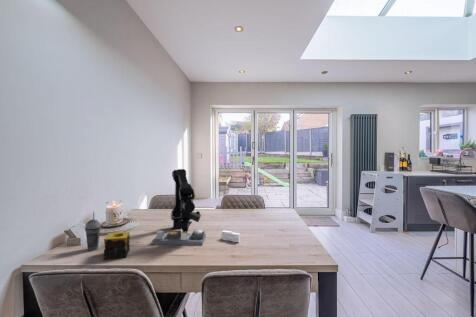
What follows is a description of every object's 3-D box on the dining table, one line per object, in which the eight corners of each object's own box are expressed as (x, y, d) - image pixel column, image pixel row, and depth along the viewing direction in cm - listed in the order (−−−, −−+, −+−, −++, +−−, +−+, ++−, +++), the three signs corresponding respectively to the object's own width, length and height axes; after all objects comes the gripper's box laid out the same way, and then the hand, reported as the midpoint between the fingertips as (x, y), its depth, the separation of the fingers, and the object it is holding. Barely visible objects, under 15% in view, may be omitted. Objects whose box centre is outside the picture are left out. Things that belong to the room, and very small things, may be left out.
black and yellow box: (103, 260, 116) (103, 239, 115) (108, 251, 125) (108, 232, 125) (126, 258, 118) (126, 237, 118) (129, 250, 128) (129, 231, 128)
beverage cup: (97, 245, 133) (97, 209, 133) (103, 249, 129) (103, 211, 128) (82, 249, 128) (82, 211, 127) (88, 253, 123) (87, 213, 123)
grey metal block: (158, 237, 141) (158, 230, 140) (163, 237, 141) (163, 230, 140) (156, 239, 138) (156, 232, 137) (161, 239, 138) (161, 232, 137)
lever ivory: (182, 238, 140) (182, 231, 140) (187, 238, 140) (187, 231, 140) (181, 240, 137) (181, 233, 137) (186, 240, 137) (186, 233, 137)
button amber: (171, 234, 145) (171, 231, 145) (179, 234, 145) (179, 231, 145) (168, 237, 140) (168, 234, 140) (177, 237, 140) (177, 234, 140)
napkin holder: (216, 239, 147) (216, 229, 147) (233, 236, 152) (233, 227, 152) (227, 248, 134) (227, 237, 134) (245, 244, 139) (245, 234, 139)
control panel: (160, 236, 150) (160, 228, 150) (205, 237, 149) (205, 229, 149) (152, 244, 137) (152, 236, 137) (202, 245, 136) (202, 237, 136)
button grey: (194, 232, 145) (194, 229, 145) (203, 233, 145) (203, 229, 145) (192, 235, 140) (192, 232, 140) (201, 235, 140) (201, 232, 140)
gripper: (196, 212, 131) (196, 241, 132) (202, 204, 150) (202, 229, 151) (176, 212, 132) (176, 241, 132) (184, 204, 150) (184, 229, 151)
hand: (185, 235), depth 142 cm, fingers closed
